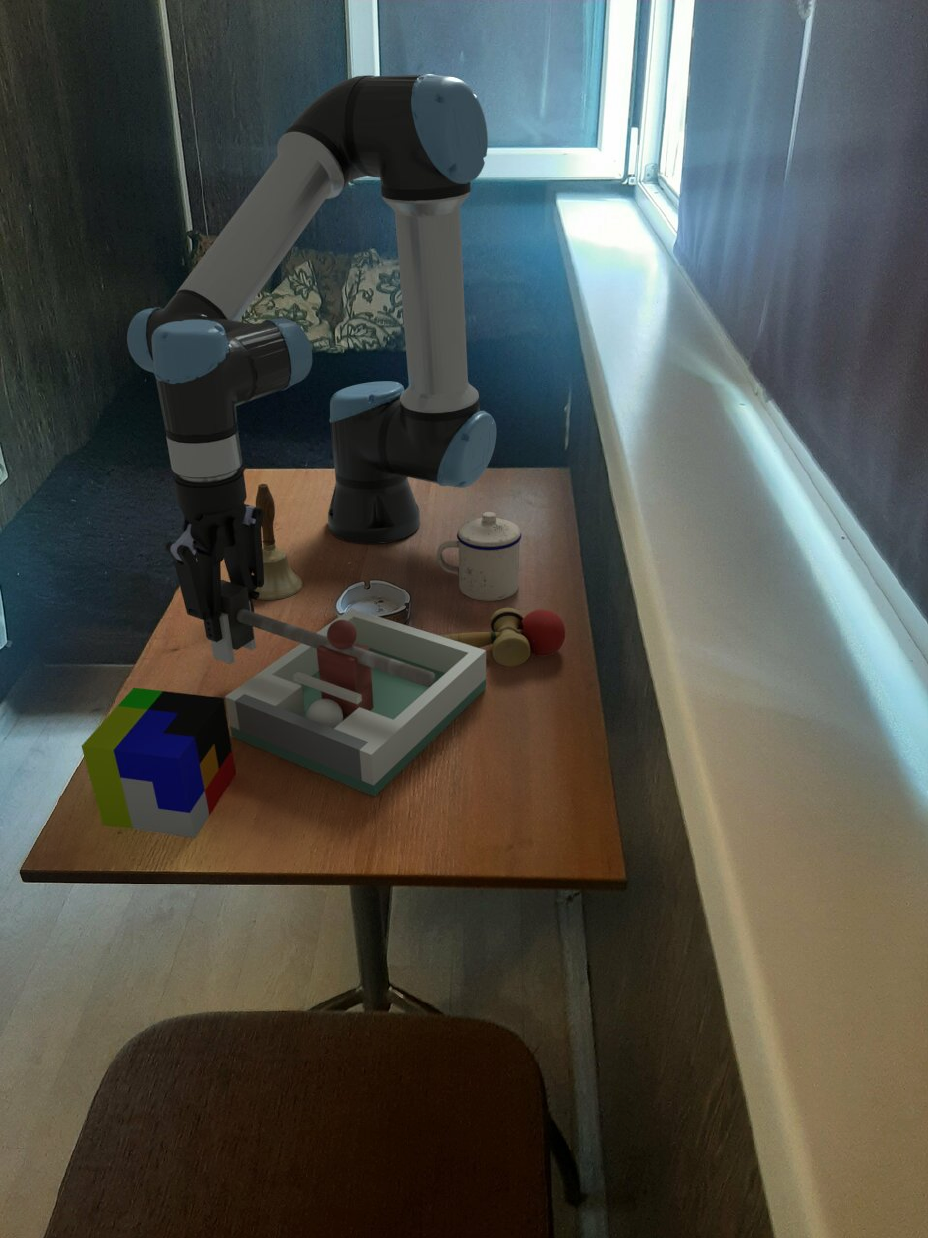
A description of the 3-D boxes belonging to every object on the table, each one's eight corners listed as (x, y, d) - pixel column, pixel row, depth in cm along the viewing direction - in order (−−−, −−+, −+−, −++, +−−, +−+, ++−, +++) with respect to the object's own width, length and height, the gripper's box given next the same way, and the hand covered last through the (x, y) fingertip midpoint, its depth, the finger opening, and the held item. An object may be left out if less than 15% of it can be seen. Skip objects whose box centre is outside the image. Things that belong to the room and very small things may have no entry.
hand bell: (306, 573, 142) (296, 473, 134) (297, 600, 135) (286, 496, 127) (251, 573, 142) (237, 473, 134) (239, 600, 135) (224, 496, 127)
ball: (296, 707, 103) (301, 735, 105) (325, 718, 101) (330, 746, 103) (319, 687, 106) (324, 715, 108) (347, 698, 104) (352, 725, 106)
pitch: (354, 644, 124) (350, 595, 120) (485, 688, 115) (486, 637, 111) (231, 736, 107) (222, 683, 104) (374, 796, 98) (370, 740, 94)
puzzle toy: (195, 838, 93) (178, 758, 88) (102, 825, 95) (81, 745, 90) (236, 774, 102) (223, 698, 97) (150, 763, 103) (133, 687, 98)
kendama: (430, 685, 118) (572, 662, 118) (421, 639, 116) (566, 615, 116) (429, 662, 126) (563, 640, 125) (421, 618, 124) (557, 595, 123)
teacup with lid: (520, 573, 141) (521, 501, 135) (520, 603, 133) (522, 528, 128) (439, 572, 142) (438, 500, 136) (435, 602, 134) (433, 526, 128)
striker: (234, 655, 118) (221, 574, 112) (440, 731, 104) (438, 643, 98) (216, 668, 116) (202, 585, 110) (424, 747, 102) (421, 657, 96)
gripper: (234, 442, 111) (257, 616, 122) (126, 487, 99) (162, 675, 111) (283, 453, 107) (302, 631, 119) (177, 501, 95) (209, 694, 107)
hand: (235, 652), depth 115 cm, fingers closed on striker, 3 cm apart
